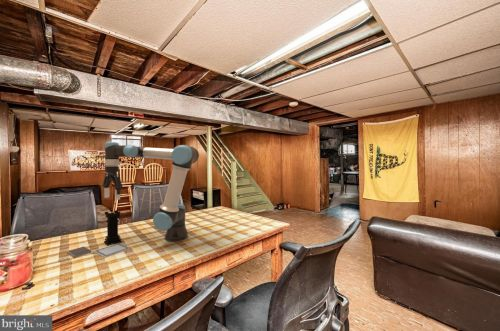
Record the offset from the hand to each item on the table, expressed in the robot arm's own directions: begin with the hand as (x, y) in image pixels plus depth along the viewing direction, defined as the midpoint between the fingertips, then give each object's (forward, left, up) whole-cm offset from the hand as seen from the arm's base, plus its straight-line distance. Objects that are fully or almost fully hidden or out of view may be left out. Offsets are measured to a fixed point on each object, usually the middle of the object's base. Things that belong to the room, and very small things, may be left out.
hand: (112, 198), depth 133 cm
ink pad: (+18, +1, -29) cm, 34 cm away
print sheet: (+6, +13, -29) cm, 32 cm away
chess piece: (0, 0, -29) cm, 29 cm away
